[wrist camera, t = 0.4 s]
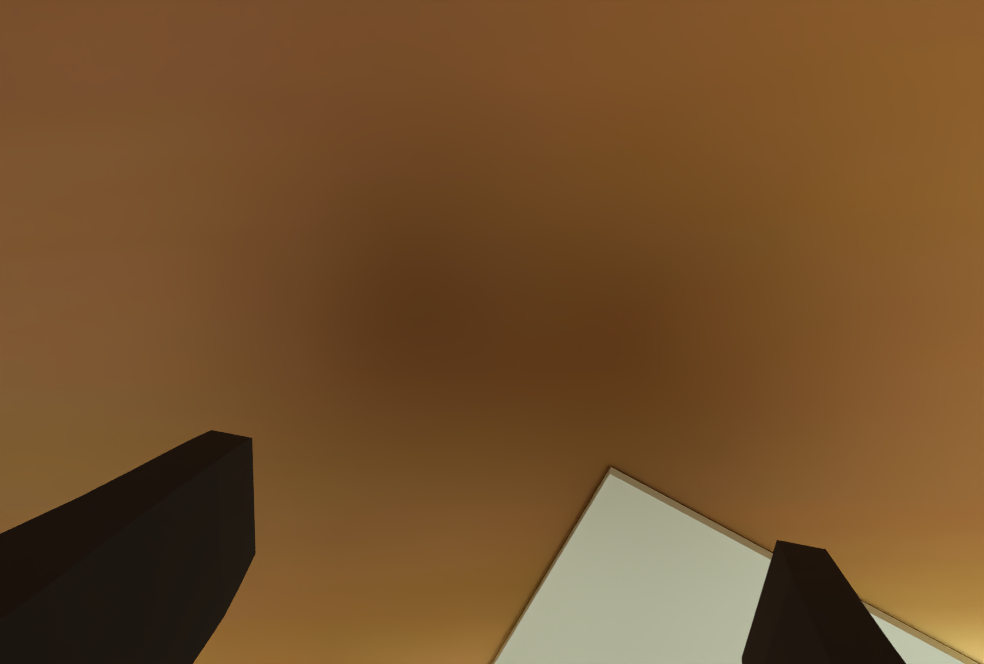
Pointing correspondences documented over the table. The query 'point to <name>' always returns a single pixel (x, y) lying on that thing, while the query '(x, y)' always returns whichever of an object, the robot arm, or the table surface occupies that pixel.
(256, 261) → the table surface
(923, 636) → the sage tile
